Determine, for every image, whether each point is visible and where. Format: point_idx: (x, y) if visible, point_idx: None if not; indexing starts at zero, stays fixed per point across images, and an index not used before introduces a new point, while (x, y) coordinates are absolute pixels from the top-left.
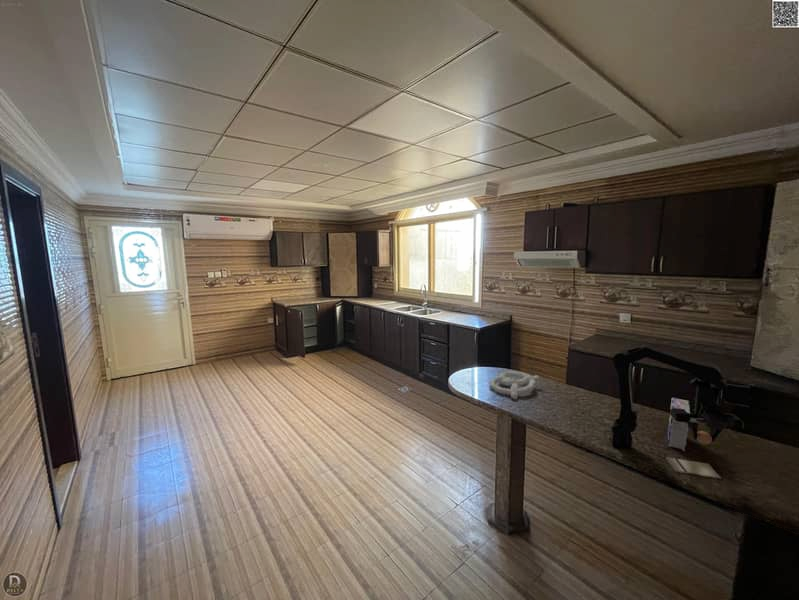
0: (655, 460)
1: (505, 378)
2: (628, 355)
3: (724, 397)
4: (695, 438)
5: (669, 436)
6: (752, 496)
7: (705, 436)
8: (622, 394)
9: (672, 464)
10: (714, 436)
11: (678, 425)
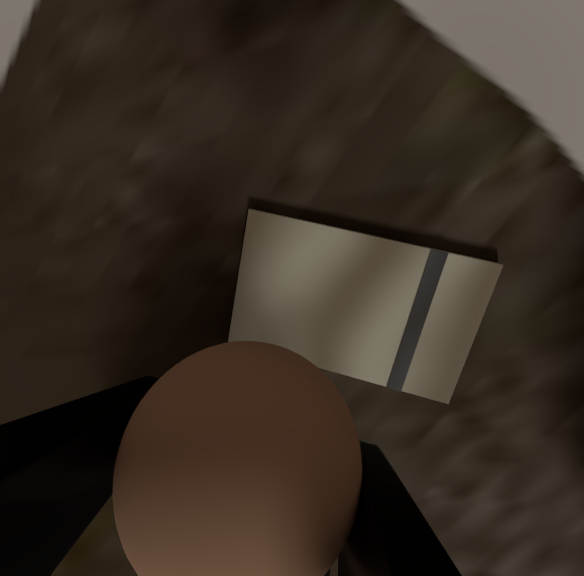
0: (545, 378)
1: None
2: None
3: None
4: (378, 458)
5: (328, 570)
6: (182, 57)
7: (251, 442)
8: None
9: (472, 327)
10: (61, 430)
11: None
